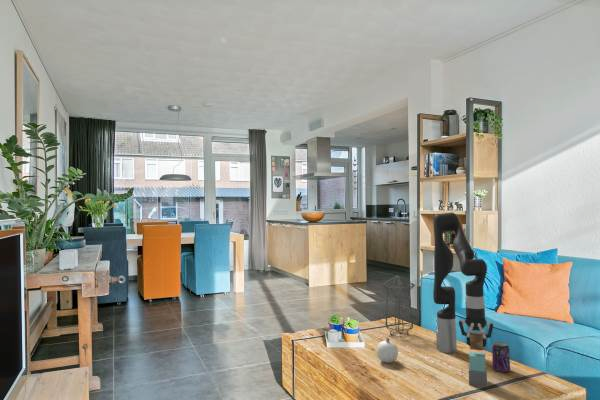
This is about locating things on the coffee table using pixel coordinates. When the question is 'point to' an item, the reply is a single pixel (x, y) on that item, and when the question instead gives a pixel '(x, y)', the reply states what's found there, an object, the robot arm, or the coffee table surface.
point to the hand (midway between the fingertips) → (476, 346)
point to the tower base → (478, 378)
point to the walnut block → (476, 341)
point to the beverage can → (501, 357)
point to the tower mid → (477, 361)
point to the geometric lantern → (399, 303)
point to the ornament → (387, 351)
